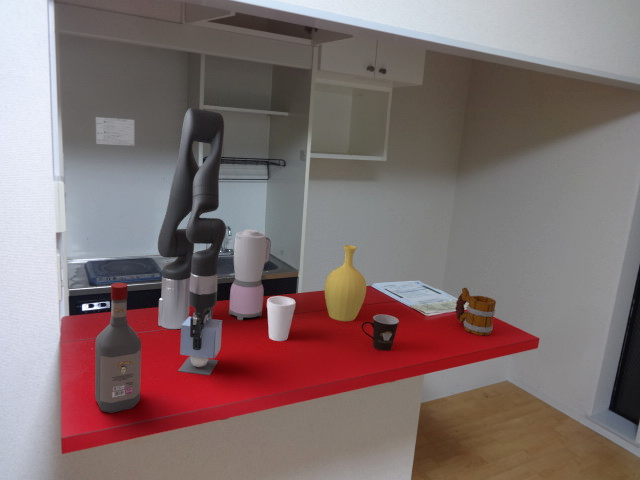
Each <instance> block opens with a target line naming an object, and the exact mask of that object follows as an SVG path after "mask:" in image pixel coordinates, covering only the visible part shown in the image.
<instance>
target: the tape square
mask: <svg viewBox="0 0 640 480" xmlns="http://www.w3.org/2000/svg"><path fill="white" fill-rule="evenodd" d="M190 358H191V356H188V357H187V358H186V359H185V361H184V362H183V364H182V365H181V367H179V368H178V370H177V372H180V373H187V374H188V373H190V374H195V375H205V376H211V374H212V372H213V371H214V370H215V368H216V365H217V364H218V362H219V360H217V359H212V358H208V362H207V363H206V365H204V366H203V367H195V366H194V365H193V364H192V363H191V360H190Z"/></svg>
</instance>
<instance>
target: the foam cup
mask: <svg viewBox="0 0 640 480" xmlns="http://www.w3.org/2000/svg"><path fill="white" fill-rule="evenodd" d="M266 308H267V324H268V337H269V339H270V340H272V341H277V342H284V341H287V339H288V337H289V334H290V329H291V326H292V325H291V324H292V320H293V317H294V312H295V310H296V301H295V299H294V298H292V297H288V296H284V295H283V296H281V295H277V296H274V295H273V296H270V297H269V298H267V301H266Z"/></svg>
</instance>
